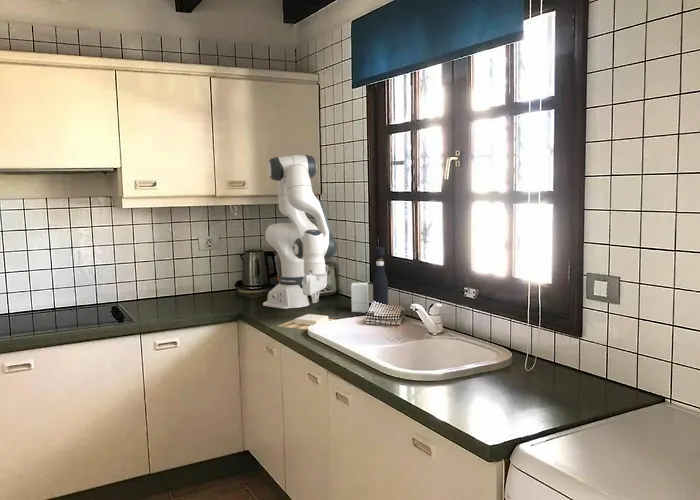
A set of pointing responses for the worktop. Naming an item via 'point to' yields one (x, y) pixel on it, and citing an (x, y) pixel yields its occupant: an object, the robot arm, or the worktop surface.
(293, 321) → the trivet
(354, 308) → the supplement box
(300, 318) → the tile
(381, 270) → the navy water bottle
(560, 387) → the worktop surface
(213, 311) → the worktop surface
